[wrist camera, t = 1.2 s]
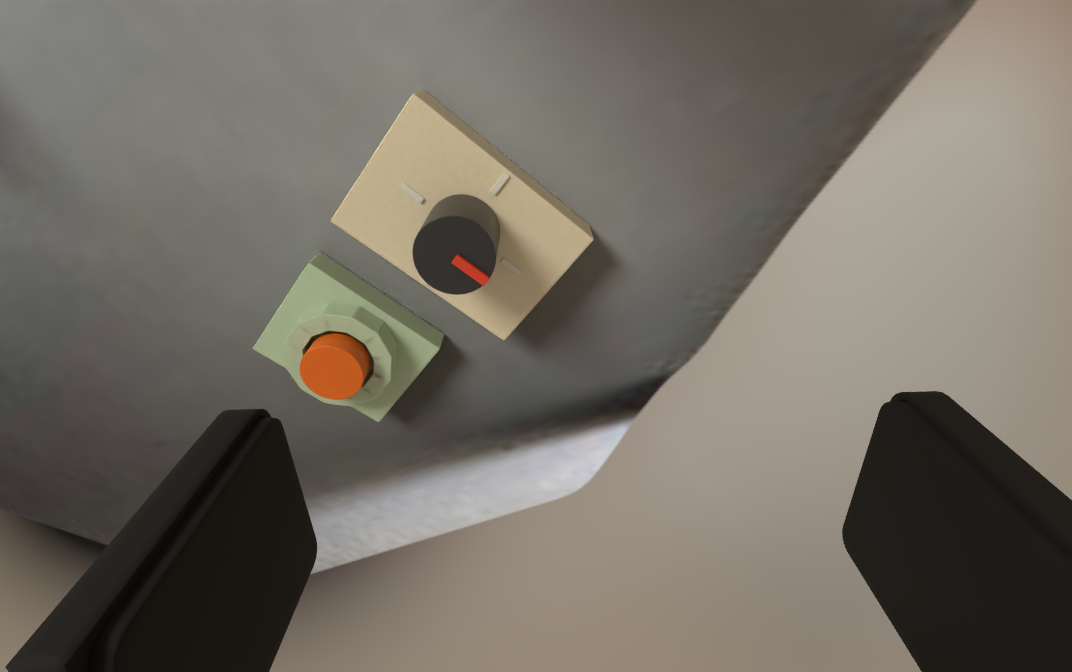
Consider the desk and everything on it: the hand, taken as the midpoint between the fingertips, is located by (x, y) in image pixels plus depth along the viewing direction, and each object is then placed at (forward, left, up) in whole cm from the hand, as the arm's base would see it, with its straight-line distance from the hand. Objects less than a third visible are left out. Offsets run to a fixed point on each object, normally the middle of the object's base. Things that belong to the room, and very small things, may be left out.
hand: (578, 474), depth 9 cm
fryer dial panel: (-3, -6, -29) cm, 29 cm away
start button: (-7, -17, -25) cm, 31 cm away
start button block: (-7, -17, -29) cm, 34 cm away
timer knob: (-3, -6, -25) cm, 26 cm away
